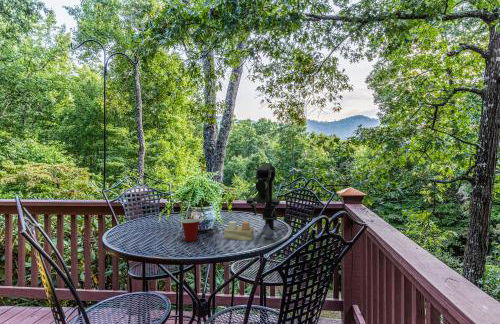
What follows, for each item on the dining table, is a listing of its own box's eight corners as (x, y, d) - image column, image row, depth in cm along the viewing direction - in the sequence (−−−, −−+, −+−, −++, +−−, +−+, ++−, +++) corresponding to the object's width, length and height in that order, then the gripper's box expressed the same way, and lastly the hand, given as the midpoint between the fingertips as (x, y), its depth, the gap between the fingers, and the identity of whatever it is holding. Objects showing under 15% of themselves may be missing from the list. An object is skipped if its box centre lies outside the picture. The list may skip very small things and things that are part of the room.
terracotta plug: (243, 229, 188) (243, 221, 188) (249, 230, 188) (249, 221, 188) (242, 231, 184) (242, 223, 184) (248, 231, 184) (248, 223, 184)
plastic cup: (191, 236, 188) (191, 216, 187) (203, 240, 181) (203, 219, 180) (176, 240, 179) (176, 219, 179) (189, 244, 172) (189, 222, 172)
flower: (257, 230, 178) (271, 220, 182) (253, 232, 186) (266, 223, 190) (266, 243, 177) (280, 234, 181) (262, 245, 184) (275, 236, 189)
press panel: (227, 233, 194) (227, 226, 194) (253, 234, 192) (253, 226, 192) (224, 239, 182) (224, 231, 182) (251, 240, 180) (251, 232, 180)
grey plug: (229, 229, 189) (229, 221, 189) (236, 229, 189) (236, 221, 189) (228, 231, 185) (228, 222, 185) (235, 231, 185) (235, 222, 185)
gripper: (243, 190, 173) (243, 218, 174) (277, 191, 168) (277, 220, 169) (248, 187, 184) (248, 214, 184) (280, 189, 179) (280, 215, 180)
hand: (263, 216), depth 179 cm, fingers open, 9 cm apart
